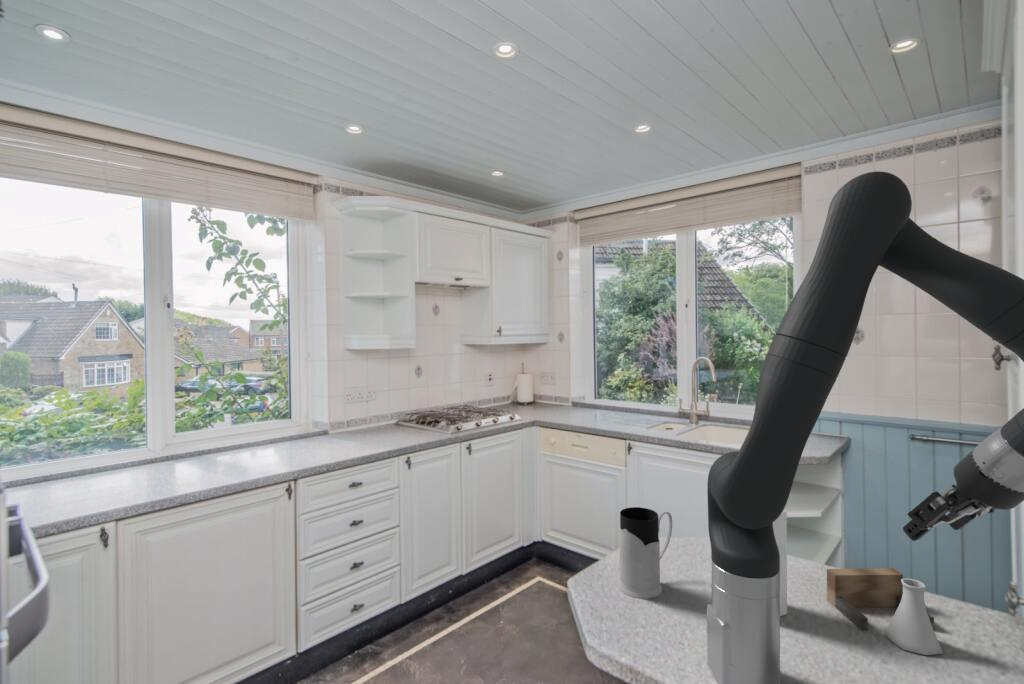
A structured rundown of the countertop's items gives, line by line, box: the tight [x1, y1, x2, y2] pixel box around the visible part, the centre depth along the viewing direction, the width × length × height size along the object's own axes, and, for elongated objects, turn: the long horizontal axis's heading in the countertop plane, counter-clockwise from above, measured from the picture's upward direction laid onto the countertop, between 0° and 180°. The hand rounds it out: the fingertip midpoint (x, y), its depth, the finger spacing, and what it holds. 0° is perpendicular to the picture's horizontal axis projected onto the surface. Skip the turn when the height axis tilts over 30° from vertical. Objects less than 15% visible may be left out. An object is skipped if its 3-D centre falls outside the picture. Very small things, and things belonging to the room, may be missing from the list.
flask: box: [885, 577, 944, 656], centre depth 82 cm, size 7×7×10 cm
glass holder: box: [617, 506, 673, 600], centre depth 103 cm, size 9×14×15 cm, turn 123°
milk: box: [773, 509, 788, 617], centre depth 93 cm, size 6×6×22 cm
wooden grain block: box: [826, 567, 935, 631], centre depth 91 cm, size 12×10×6 cm
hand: (930, 529), depth 77 cm, fingers open, 8 cm apart
